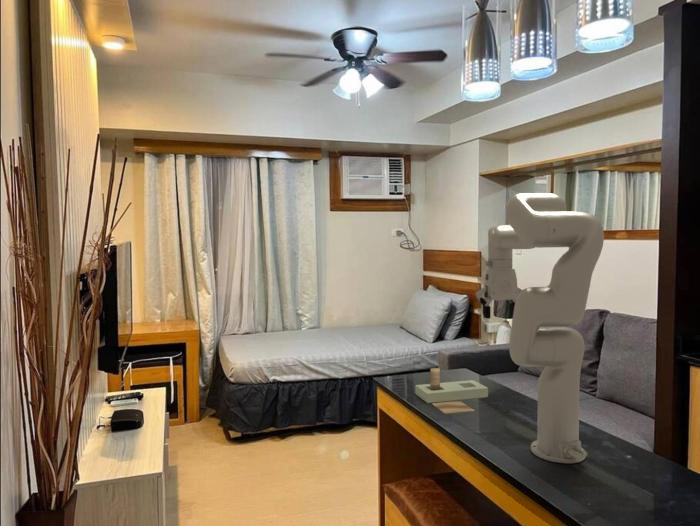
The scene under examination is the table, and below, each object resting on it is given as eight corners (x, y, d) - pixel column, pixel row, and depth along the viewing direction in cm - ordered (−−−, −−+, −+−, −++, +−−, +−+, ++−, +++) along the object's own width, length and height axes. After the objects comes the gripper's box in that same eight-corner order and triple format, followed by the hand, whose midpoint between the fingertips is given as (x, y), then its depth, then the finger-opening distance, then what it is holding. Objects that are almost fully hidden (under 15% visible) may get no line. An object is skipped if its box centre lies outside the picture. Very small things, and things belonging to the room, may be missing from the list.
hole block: (488, 398, 168) (488, 387, 167) (427, 404, 162) (427, 393, 162) (473, 389, 177) (473, 380, 177) (415, 395, 172) (415, 385, 171)
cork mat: (475, 412, 154) (475, 410, 154) (445, 415, 152) (445, 413, 152) (459, 402, 164) (459, 400, 164) (431, 405, 161) (431, 403, 161)
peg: (441, 399, 167) (441, 369, 166) (432, 400, 166) (432, 370, 166) (437, 396, 170) (437, 367, 170) (428, 397, 169) (428, 368, 169)
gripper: (482, 265, 156) (482, 320, 156) (530, 264, 160) (530, 317, 161) (470, 264, 163) (470, 317, 163) (516, 263, 168) (516, 314, 168)
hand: (500, 317), depth 162 cm, fingers open, 9 cm apart
